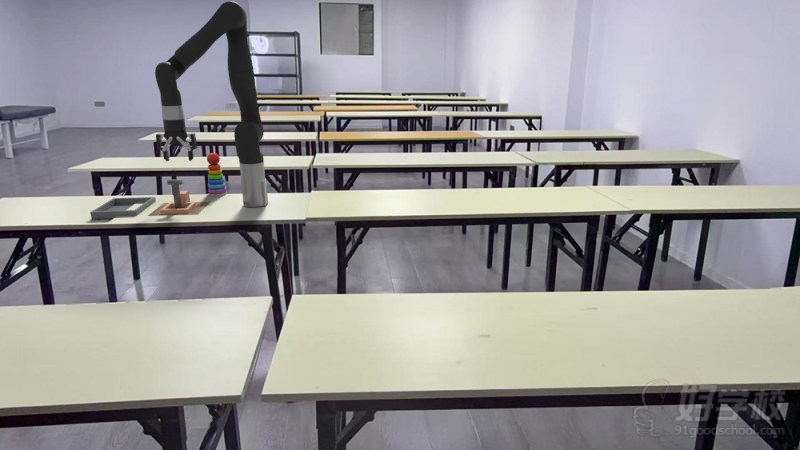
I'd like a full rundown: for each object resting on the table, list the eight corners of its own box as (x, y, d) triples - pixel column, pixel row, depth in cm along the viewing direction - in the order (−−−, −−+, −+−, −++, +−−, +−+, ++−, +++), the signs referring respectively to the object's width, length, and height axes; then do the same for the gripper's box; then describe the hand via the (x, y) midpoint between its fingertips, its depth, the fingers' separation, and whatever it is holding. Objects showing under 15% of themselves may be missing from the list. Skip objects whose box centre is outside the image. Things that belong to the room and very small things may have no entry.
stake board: (210, 204, 208) (206, 173, 204) (198, 217, 191) (194, 183, 187) (164, 205, 206) (159, 174, 202) (147, 219, 189) (142, 184, 185)
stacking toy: (207, 195, 222) (202, 152, 217) (226, 193, 225) (222, 150, 220) (209, 199, 215) (203, 155, 210) (229, 197, 219) (224, 153, 213)
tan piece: (199, 202, 206) (197, 190, 205) (188, 213, 192) (186, 200, 191) (173, 203, 205) (171, 191, 204) (160, 214, 191) (158, 200, 190)
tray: (156, 204, 209) (155, 196, 208) (137, 218, 190) (136, 210, 189) (114, 205, 207) (113, 198, 206) (91, 220, 188) (90, 212, 187)
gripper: (195, 116, 198) (200, 158, 203) (157, 117, 197) (163, 159, 202) (190, 118, 191) (195, 162, 196) (150, 119, 190) (156, 162, 195)
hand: (179, 160), depth 199 cm, fingers open, 8 cm apart
